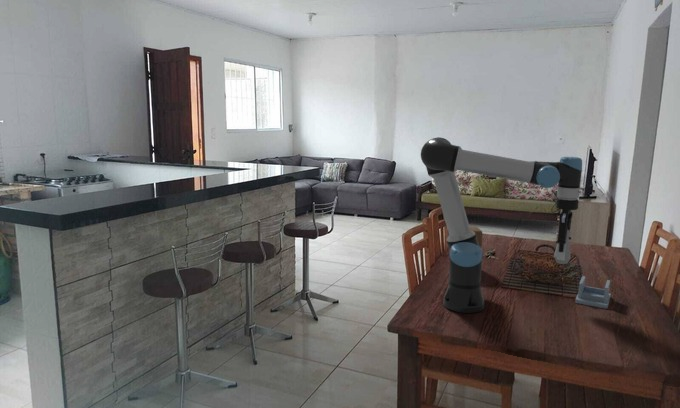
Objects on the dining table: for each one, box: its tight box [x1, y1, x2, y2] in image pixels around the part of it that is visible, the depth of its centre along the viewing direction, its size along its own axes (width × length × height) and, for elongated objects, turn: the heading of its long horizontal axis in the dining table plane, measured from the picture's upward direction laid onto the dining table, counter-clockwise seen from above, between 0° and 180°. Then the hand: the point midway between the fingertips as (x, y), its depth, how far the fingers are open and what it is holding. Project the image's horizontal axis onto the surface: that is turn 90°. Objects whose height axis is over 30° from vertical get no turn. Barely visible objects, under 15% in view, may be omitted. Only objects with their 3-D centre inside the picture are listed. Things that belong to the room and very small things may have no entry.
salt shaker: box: [553, 229, 572, 265], centre depth 185 cm, size 6×6×13 cm
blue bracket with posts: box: [574, 275, 612, 310], centre depth 190 cm, size 14×11×8 cm
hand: (561, 257), depth 186 cm, fingers closed on salt shaker, 6 cm apart
